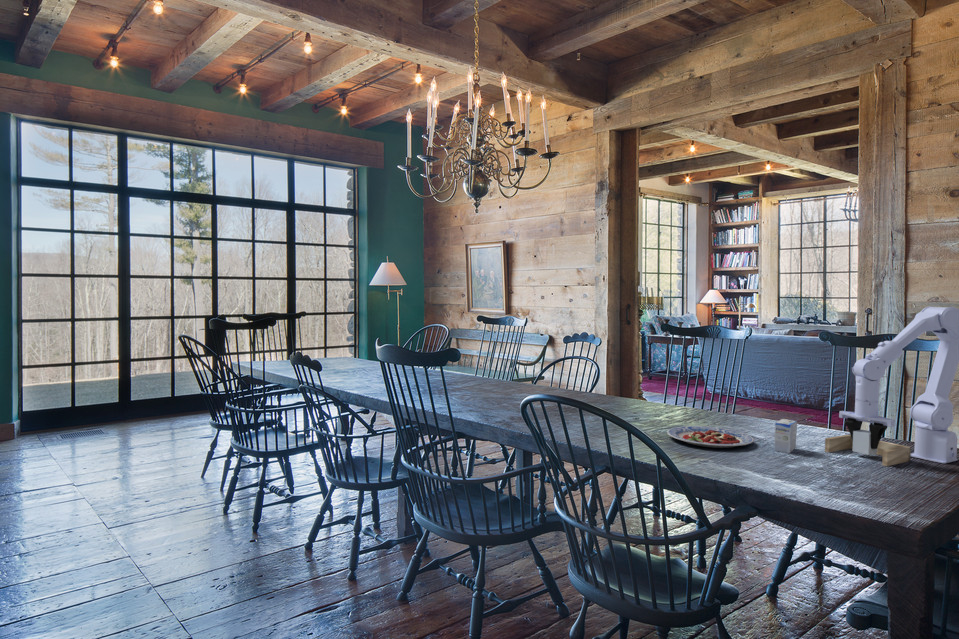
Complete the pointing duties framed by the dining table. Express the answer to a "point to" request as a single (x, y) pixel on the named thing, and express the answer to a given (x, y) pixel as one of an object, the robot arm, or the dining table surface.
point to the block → (862, 442)
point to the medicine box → (785, 435)
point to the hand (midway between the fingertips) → (864, 446)
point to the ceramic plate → (710, 436)
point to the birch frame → (887, 450)
